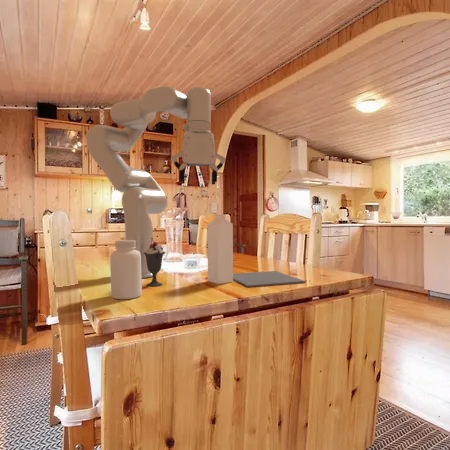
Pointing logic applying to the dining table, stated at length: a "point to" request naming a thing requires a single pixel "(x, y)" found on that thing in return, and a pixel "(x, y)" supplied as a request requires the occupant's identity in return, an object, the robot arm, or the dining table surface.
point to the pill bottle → (125, 270)
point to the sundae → (154, 261)
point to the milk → (220, 250)
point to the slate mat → (265, 279)
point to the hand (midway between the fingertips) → (198, 183)
